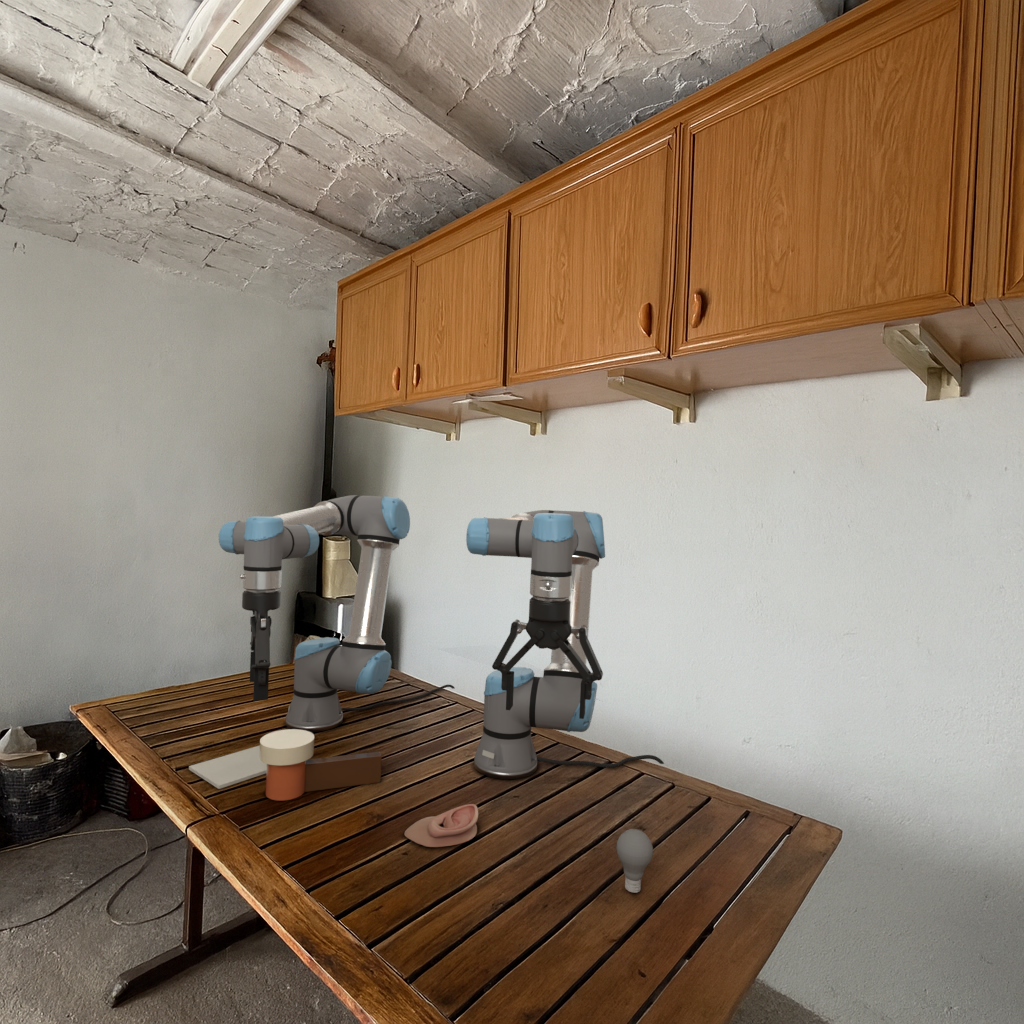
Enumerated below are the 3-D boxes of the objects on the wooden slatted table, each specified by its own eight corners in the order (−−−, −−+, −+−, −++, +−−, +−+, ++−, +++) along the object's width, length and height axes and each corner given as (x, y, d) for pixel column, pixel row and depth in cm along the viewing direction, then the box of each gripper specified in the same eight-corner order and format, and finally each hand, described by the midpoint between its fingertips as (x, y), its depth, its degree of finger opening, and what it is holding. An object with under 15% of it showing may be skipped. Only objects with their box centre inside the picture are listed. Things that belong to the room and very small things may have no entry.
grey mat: (269, 745, 159) (269, 742, 159) (301, 761, 151) (301, 758, 151) (188, 769, 144) (188, 766, 144) (218, 789, 135) (218, 785, 135)
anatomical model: (398, 821, 117) (420, 793, 128) (397, 842, 117) (419, 813, 128) (468, 831, 114) (483, 802, 126) (467, 853, 114) (482, 822, 126)
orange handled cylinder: (265, 803, 130) (267, 764, 130) (265, 786, 137) (266, 749, 137) (382, 787, 139) (384, 751, 139) (376, 772, 147) (377, 738, 146)
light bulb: (610, 879, 108) (613, 822, 108) (644, 879, 109) (647, 822, 109) (619, 902, 102) (622, 840, 102) (655, 901, 103) (658, 840, 103)
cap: (295, 740, 143) (295, 725, 143) (324, 754, 136) (324, 738, 136) (249, 754, 134) (249, 738, 134) (277, 770, 127) (278, 753, 127)
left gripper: (240, 582, 143) (236, 675, 143) (245, 600, 120) (241, 710, 121) (275, 581, 146) (272, 672, 147) (287, 598, 124) (283, 706, 124)
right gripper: (478, 595, 115) (474, 711, 116) (618, 606, 109) (612, 727, 110) (489, 589, 122) (485, 697, 123) (620, 599, 117) (614, 712, 118)
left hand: (258, 690), depth 134 cm, fingers open, 13 cm apart
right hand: (545, 712), depth 117 cm, fingers open, 13 cm apart
